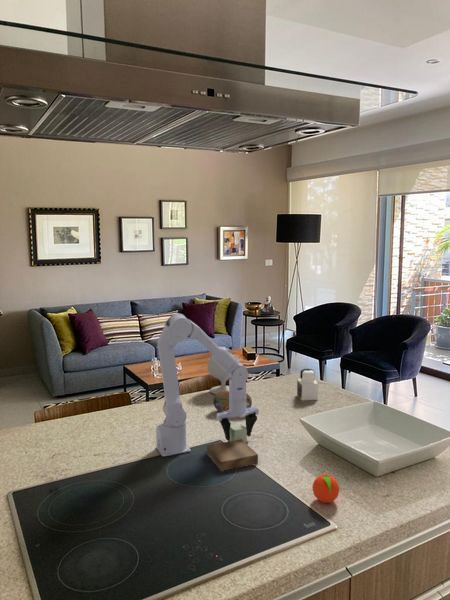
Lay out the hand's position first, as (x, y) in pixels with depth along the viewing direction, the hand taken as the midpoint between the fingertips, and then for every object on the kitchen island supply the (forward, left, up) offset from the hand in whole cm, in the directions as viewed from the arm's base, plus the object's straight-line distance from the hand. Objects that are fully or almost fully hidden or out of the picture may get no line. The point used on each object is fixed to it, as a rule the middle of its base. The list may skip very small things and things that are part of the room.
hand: (238, 437), depth 167 cm
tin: (+9, +25, -2) cm, 27 cm away
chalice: (+15, +49, -2) cm, 51 cm away
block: (0, 0, -2) cm, 2 cm away
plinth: (-7, -11, -1) cm, 13 cm away
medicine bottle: (+44, +27, -2) cm, 52 cm away
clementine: (+6, -43, -2) cm, 43 cm away
